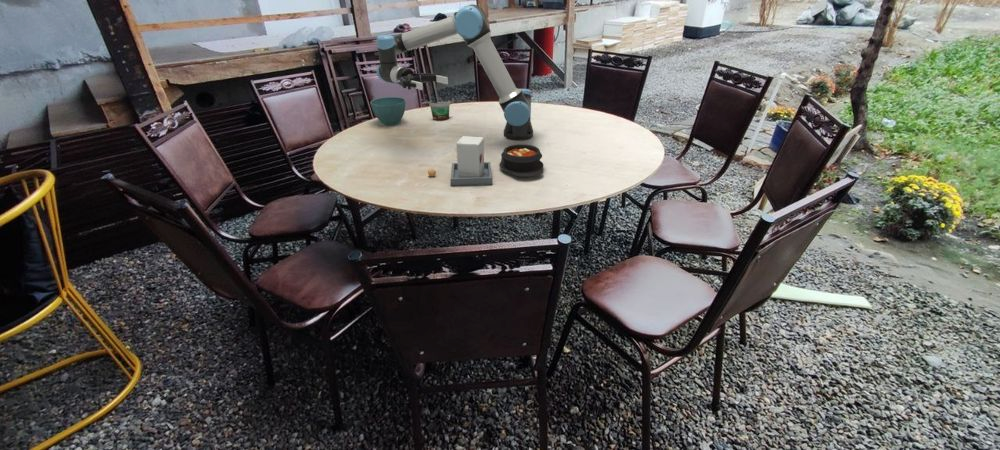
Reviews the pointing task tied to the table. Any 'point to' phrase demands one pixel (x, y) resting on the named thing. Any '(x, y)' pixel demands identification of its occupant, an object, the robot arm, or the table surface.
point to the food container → (440, 110)
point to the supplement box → (470, 157)
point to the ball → (431, 172)
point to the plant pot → (389, 110)
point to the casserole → (522, 160)
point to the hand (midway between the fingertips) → (435, 83)
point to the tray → (472, 181)
